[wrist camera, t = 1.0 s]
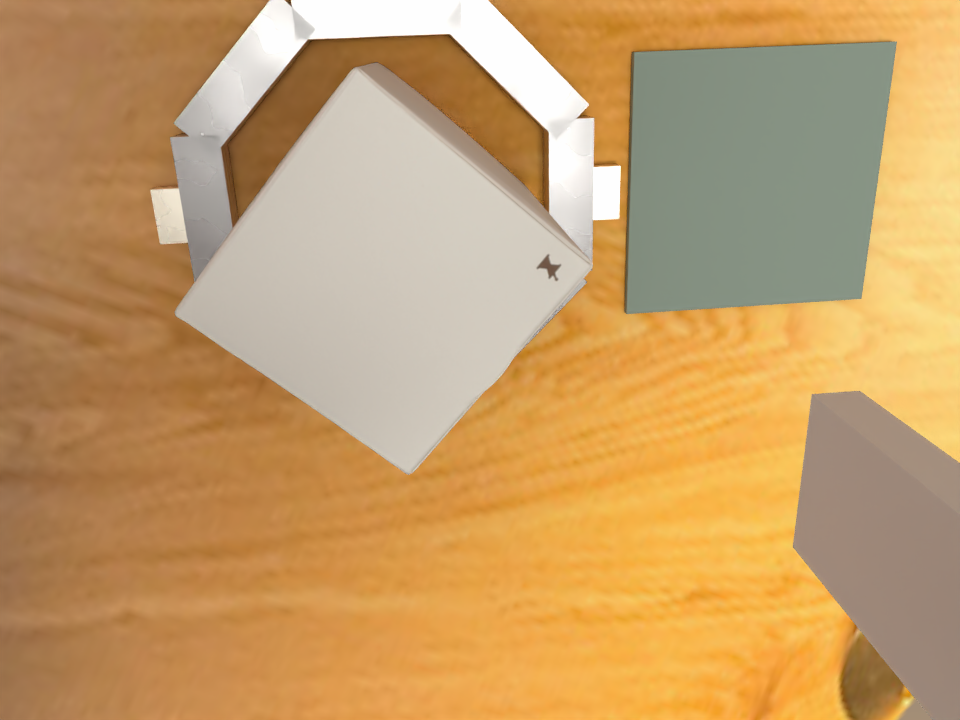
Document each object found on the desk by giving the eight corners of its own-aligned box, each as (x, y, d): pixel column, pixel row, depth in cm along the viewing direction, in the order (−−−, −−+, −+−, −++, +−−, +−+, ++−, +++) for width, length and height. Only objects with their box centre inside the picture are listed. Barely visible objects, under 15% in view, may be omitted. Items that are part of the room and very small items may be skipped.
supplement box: (375, 53, 34) (357, 50, 20) (530, 186, 37) (607, 264, 23) (252, 216, 36) (160, 315, 22) (407, 332, 39) (412, 485, 25)
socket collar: (193, 397, 39) (185, 410, 38) (120, -6, 33) (108, -9, 31) (611, 368, 41) (618, 379, 39) (620, -23, 34) (629, -26, 33)
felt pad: (624, 311, 40) (626, 313, 39) (631, 52, 35) (634, 52, 35) (857, 296, 41) (861, 298, 40) (891, 41, 36) (896, 41, 36)
